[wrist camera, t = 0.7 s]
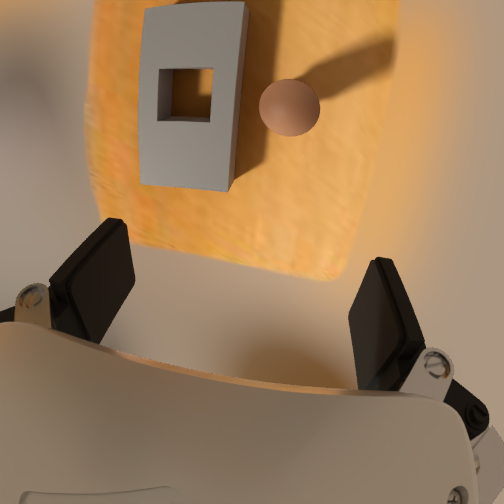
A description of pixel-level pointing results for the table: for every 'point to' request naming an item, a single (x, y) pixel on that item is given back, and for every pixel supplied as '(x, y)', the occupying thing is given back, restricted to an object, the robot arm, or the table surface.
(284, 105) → the dowel
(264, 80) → the table surface
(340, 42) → the table surface
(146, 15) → the seat board
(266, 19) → the table surface
